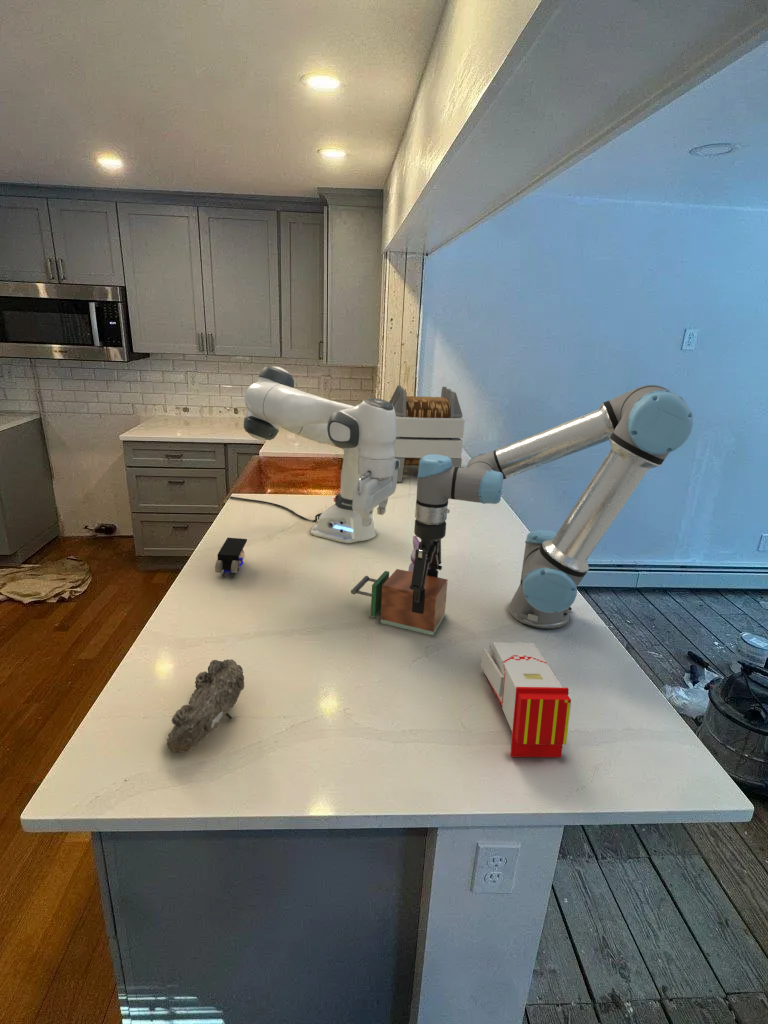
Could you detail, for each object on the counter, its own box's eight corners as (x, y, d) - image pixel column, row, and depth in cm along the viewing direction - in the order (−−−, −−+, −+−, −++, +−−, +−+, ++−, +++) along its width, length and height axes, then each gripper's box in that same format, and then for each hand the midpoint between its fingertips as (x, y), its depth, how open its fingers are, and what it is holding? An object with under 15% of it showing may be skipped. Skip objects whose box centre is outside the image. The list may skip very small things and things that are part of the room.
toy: (531, 625, 126) (580, 695, 97) (526, 680, 129) (572, 765, 100) (477, 624, 126) (510, 694, 96) (473, 679, 129) (504, 764, 99)
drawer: (350, 611, 146) (350, 580, 143) (364, 595, 154) (365, 566, 151) (418, 627, 140) (420, 595, 137) (428, 610, 148) (431, 580, 145)
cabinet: (380, 622, 143) (382, 585, 139) (394, 604, 152) (396, 568, 149) (433, 635, 138) (436, 597, 135) (444, 616, 148) (447, 579, 144)
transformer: (382, 463, 289) (386, 382, 275) (445, 464, 293) (451, 384, 279) (390, 482, 257) (394, 392, 243) (460, 483, 261) (468, 394, 247)
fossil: (192, 660, 117) (244, 628, 112) (224, 691, 120) (276, 661, 115) (142, 746, 98) (202, 712, 93) (182, 779, 101) (242, 748, 96)
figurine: (415, 595, 157) (419, 545, 152) (397, 579, 166) (400, 532, 161) (444, 589, 161) (448, 540, 156) (425, 574, 170) (428, 527, 165)
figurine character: (238, 584, 162) (249, 557, 175) (236, 562, 158) (247, 536, 172) (215, 584, 161) (227, 556, 175) (212, 561, 158) (225, 535, 171)
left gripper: (371, 479, 128) (369, 535, 133) (402, 459, 146) (399, 509, 151) (346, 475, 130) (345, 531, 135) (379, 456, 148) (377, 506, 153)
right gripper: (431, 539, 124) (425, 627, 131) (458, 508, 144) (450, 586, 151) (399, 533, 126) (394, 620, 134) (429, 503, 146) (424, 580, 154)
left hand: (374, 519), depth 143 cm, fingers open, 8 cm apart
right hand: (424, 602), depth 142 cm, fingers closed on cabinet, 10 cm apart
